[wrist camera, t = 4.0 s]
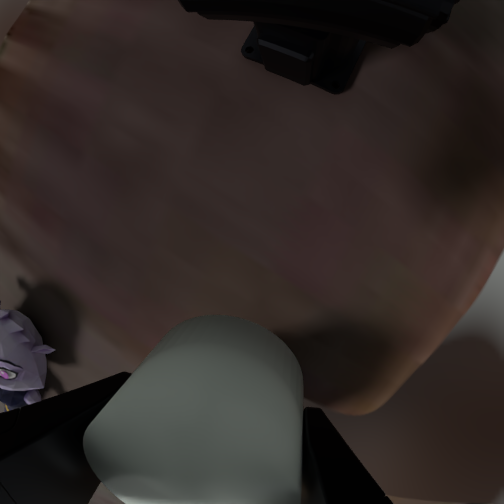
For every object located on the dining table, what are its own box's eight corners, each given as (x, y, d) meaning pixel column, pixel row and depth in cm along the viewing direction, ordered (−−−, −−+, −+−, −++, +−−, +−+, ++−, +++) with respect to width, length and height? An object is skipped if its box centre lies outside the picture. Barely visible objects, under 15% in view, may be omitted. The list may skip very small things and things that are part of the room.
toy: (-48, 407, 25) (-95, 254, 14) (-16, 378, 34) (-31, 226, 23) (79, 523, 25) (97, 476, 14) (105, 482, 33) (154, 390, 22)
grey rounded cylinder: (181, 285, 8) (94, 366, 4) (333, 359, 8) (351, 476, 4) (139, 396, 9) (79, 479, 5) (260, 452, 9) (241, 550, 5)
